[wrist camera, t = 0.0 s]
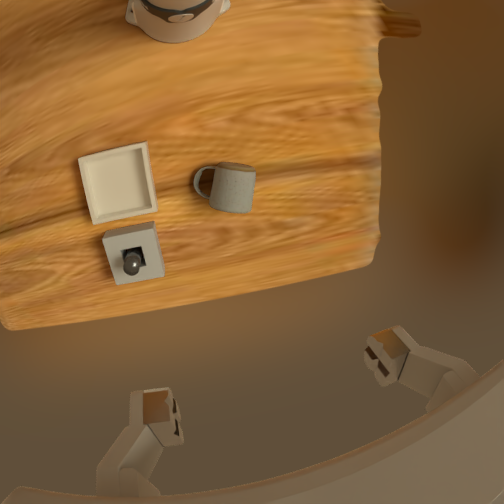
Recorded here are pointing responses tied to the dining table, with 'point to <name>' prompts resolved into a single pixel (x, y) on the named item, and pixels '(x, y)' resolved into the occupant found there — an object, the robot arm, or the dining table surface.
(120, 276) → the grey square socket block
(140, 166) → the tray
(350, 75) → the dining table surface
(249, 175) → the ceramic mug
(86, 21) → the dining table surface
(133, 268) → the pin
